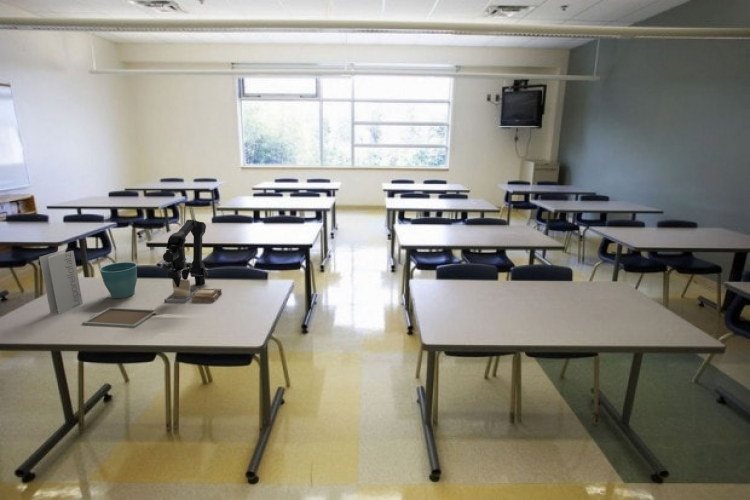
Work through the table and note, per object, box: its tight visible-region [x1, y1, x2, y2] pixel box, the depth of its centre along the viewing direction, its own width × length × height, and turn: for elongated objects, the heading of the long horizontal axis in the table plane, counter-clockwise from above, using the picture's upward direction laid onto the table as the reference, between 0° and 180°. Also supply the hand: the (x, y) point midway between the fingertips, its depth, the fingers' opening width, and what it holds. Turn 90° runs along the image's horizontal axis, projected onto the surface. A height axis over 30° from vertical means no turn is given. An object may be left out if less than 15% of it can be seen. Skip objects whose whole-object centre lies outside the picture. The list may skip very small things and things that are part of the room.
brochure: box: [38, 249, 83, 315], centre depth 221 cm, size 14×6×30 cm, turn 168°
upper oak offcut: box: [195, 290, 215, 297], centre depth 234 cm, size 4×9×2 cm, turn 90°
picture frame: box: [81, 306, 157, 328], centre depth 214 cm, size 19×2×30 cm
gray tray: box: [163, 287, 201, 303], centre depth 240 cm, size 19×12×3 cm, turn 0°
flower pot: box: [99, 261, 138, 299], centre depth 242 cm, size 18×18×17 cm
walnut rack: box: [191, 288, 222, 303], centre depth 238 cm, size 12×12×4 cm
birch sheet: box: [171, 279, 192, 298], centre depth 238 cm, size 2×9×10 cm, turn 90°
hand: (181, 284), depth 238 cm, fingers open, 9 cm apart
